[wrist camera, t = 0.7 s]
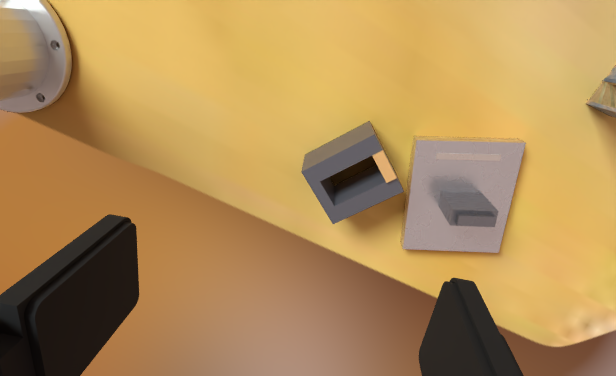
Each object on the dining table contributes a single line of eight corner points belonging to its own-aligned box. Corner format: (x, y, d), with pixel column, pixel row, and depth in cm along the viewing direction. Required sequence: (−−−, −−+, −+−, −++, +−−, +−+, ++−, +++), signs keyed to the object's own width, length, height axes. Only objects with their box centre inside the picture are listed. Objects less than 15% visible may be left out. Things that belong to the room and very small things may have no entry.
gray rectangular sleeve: (332, 201, 40) (333, 225, 35) (305, 154, 38) (301, 173, 33) (395, 171, 38) (404, 192, 33) (369, 120, 36) (375, 135, 31)
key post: (400, 241, 41) (411, 275, 35) (413, 136, 36) (427, 155, 31) (493, 245, 41) (518, 279, 35) (518, 138, 36) (552, 158, 30)
